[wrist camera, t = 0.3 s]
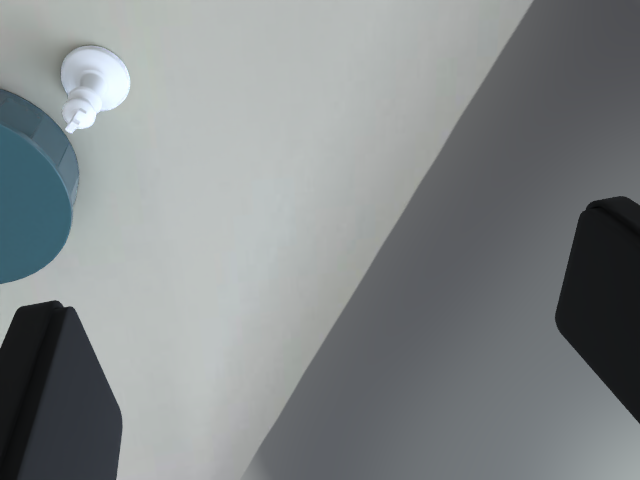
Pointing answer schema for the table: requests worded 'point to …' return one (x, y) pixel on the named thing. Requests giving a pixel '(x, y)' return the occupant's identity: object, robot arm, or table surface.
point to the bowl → (42, 135)
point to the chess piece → (92, 84)
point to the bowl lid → (30, 206)
